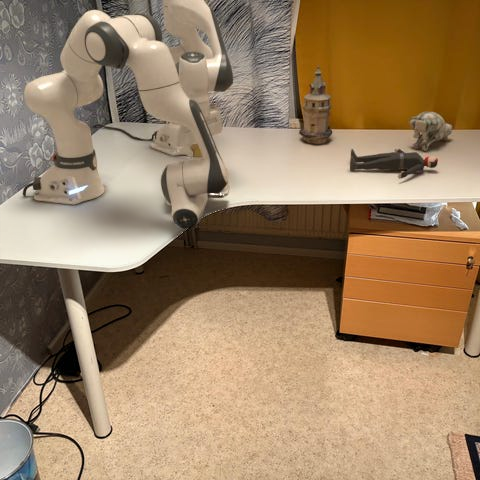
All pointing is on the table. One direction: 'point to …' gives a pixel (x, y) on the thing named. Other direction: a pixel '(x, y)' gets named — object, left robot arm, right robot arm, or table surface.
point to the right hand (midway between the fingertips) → (197, 153)
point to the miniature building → (316, 112)
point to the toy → (393, 162)
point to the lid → (196, 150)
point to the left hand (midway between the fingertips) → (199, 177)
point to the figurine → (429, 128)
